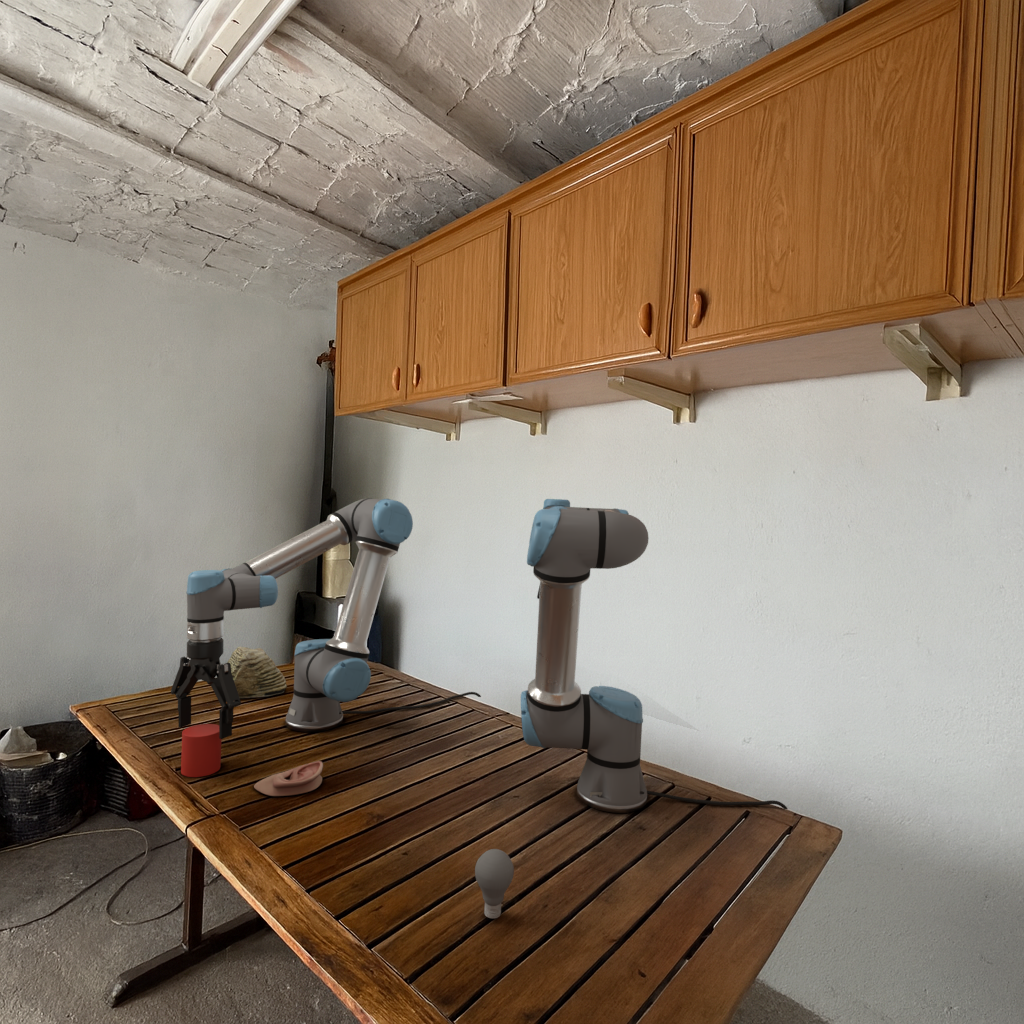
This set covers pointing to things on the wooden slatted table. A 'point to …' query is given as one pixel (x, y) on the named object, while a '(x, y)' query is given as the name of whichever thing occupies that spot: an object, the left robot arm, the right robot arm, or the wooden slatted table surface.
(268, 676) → the fossil
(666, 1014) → the wooden slatted table surface
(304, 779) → the anatomical model
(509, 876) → the light bulb
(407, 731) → the wooden slatted table surface
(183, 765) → the canister
